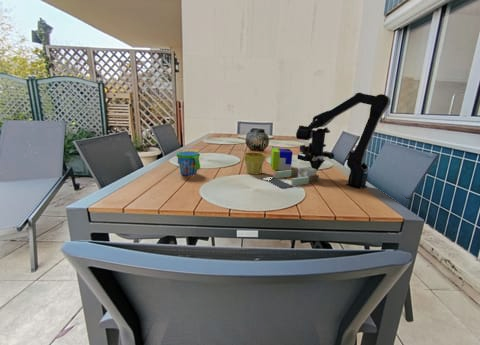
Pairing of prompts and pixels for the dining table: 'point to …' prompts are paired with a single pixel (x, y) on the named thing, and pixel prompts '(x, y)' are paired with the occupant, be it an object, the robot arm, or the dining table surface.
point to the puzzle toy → (281, 159)
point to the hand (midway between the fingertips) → (314, 173)
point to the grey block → (306, 171)
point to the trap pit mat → (279, 183)
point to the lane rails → (296, 180)
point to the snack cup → (188, 162)
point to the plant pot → (254, 162)
